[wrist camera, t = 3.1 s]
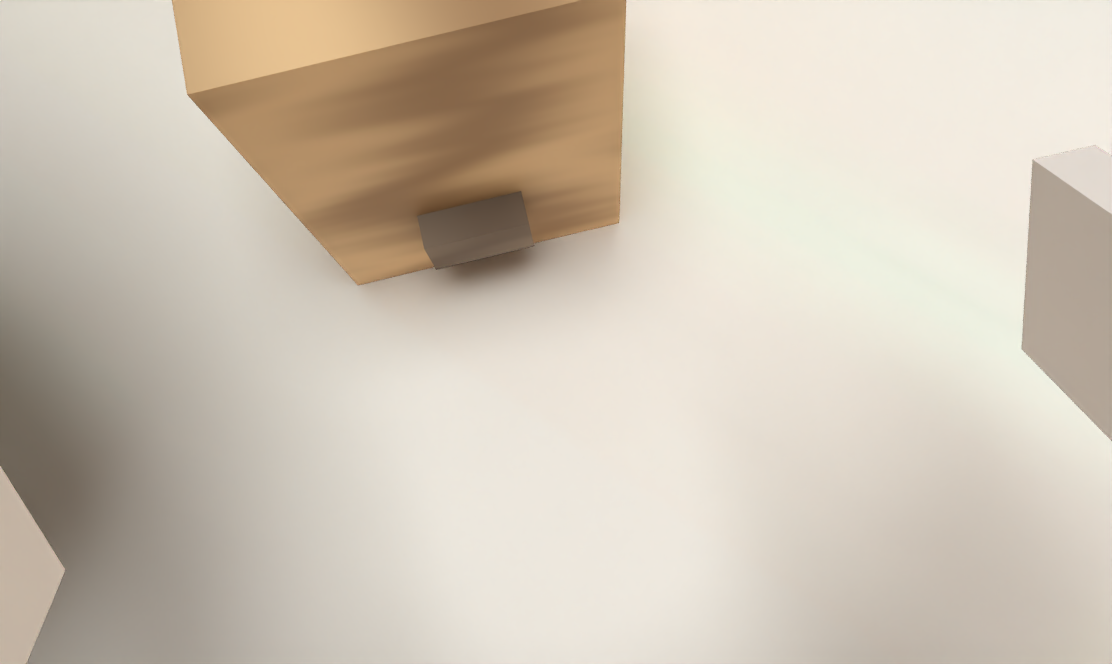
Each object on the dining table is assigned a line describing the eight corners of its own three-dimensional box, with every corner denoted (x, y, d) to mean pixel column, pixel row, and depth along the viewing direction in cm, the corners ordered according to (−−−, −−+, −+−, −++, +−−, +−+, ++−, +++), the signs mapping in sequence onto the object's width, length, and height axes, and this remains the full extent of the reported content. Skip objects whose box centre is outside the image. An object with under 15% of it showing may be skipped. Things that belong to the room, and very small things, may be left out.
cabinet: (363, 314, 26) (194, 141, 16) (318, 80, 28) (135, -224, 17) (626, 251, 26) (639, 34, 16) (566, 21, 28) (539, -320, 17)
